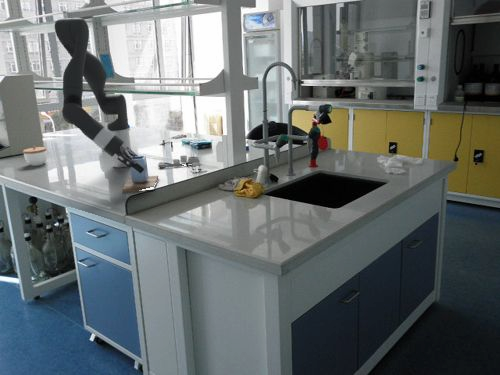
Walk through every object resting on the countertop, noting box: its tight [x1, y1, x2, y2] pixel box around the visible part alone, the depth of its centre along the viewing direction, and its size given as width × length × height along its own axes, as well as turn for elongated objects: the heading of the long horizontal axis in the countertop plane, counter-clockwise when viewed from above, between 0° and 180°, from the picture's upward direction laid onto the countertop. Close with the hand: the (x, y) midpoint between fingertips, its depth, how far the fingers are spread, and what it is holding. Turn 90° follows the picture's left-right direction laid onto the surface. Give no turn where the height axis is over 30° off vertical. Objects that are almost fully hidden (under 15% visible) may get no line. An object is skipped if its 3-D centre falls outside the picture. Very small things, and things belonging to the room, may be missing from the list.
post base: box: [121, 175, 159, 194], centre depth 182 cm, size 16×12×9 cm
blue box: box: [129, 155, 149, 182], centre depth 181 cm, size 6×6×9 cm
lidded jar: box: [22, 145, 48, 167], centre depth 231 cm, size 11×11×9 cm
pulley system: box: [157, 155, 200, 168], centre depth 208 cm, size 27×5×15 cm
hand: (143, 169), depth 181 cm, fingers closed on blue box, 5 cm apart
